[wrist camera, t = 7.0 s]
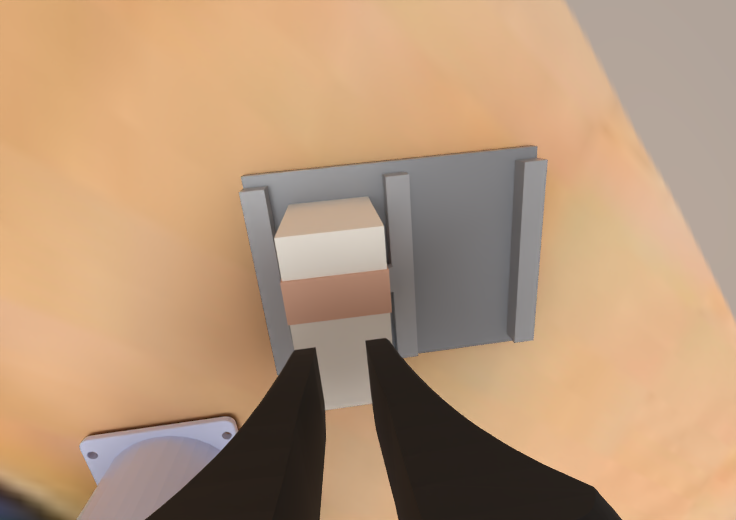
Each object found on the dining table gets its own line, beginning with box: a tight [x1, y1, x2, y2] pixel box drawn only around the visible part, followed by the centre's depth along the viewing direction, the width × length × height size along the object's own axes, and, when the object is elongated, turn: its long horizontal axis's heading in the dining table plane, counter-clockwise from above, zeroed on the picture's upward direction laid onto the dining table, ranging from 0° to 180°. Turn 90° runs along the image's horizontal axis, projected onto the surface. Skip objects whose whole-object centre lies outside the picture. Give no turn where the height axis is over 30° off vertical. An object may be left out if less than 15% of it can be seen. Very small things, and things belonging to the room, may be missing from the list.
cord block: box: [274, 196, 392, 410], centre depth 16 cm, size 7×4×5 cm, turn 5°
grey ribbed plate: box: [239, 145, 548, 375], centre depth 17 cm, size 10×13×3 cm
